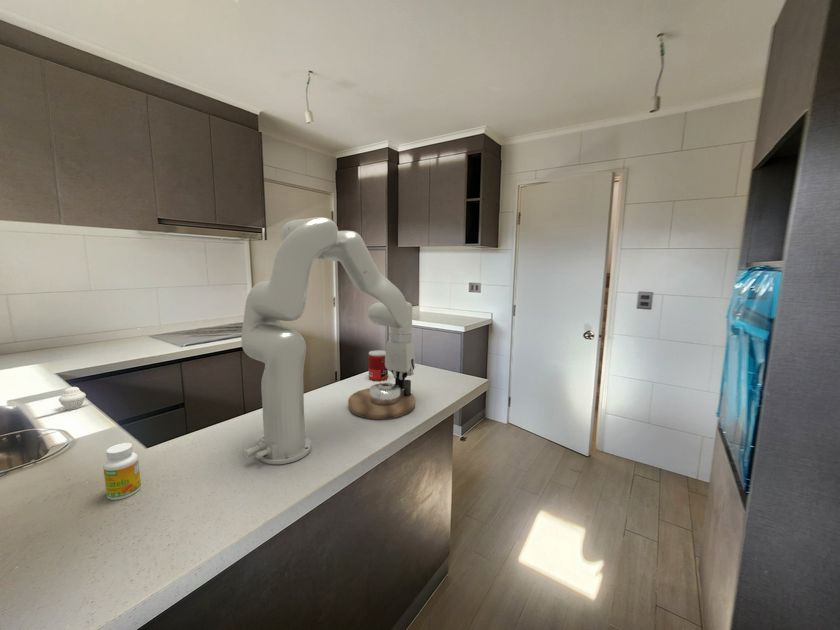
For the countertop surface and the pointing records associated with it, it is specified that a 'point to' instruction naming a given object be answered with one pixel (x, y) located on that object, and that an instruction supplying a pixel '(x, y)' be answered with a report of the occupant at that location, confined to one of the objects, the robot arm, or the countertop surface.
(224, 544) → the countertop surface
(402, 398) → the turntable
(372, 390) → the cover
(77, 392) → the muffin
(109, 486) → the supplement bottle
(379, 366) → the canned food
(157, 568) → the countertop surface
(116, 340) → the countertop surface
